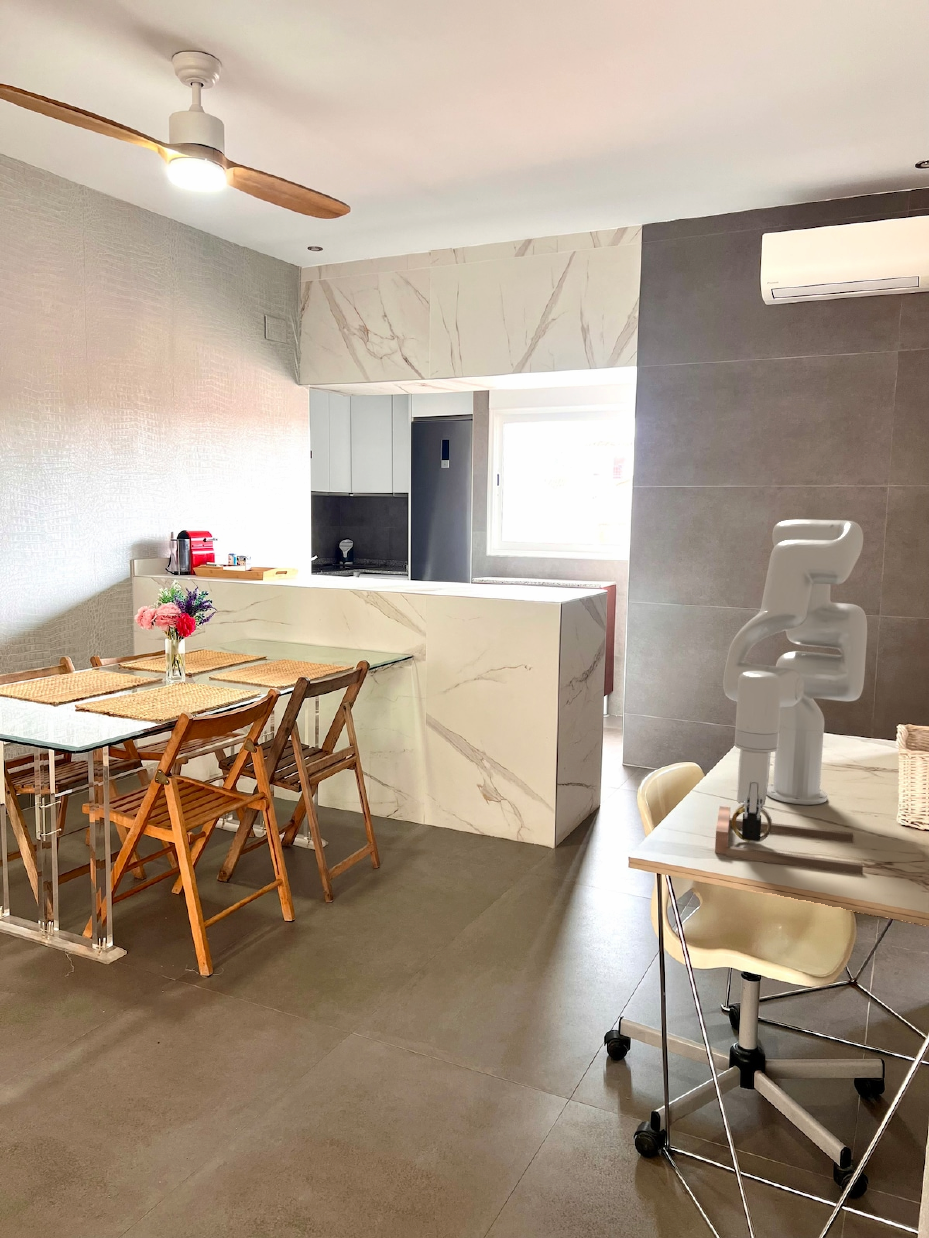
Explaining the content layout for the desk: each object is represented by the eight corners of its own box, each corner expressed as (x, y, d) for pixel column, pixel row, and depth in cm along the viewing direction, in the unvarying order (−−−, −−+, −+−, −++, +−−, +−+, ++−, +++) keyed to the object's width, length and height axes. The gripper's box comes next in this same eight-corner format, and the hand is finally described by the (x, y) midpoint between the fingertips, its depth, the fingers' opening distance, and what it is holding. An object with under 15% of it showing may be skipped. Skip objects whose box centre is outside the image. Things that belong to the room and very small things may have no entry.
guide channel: (718, 824, 173) (719, 804, 173) (852, 840, 166) (853, 819, 166) (714, 854, 157) (715, 832, 157) (862, 874, 150) (864, 851, 149)
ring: (771, 843, 163) (774, 801, 162) (769, 849, 160) (772, 806, 160) (732, 836, 166) (734, 795, 165) (729, 842, 163) (732, 800, 162)
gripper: (736, 728, 170) (730, 821, 172) (733, 747, 155) (728, 849, 157) (777, 732, 167) (771, 826, 169) (779, 751, 153) (772, 855, 155)
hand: (750, 836), depth 163 cm, fingers closed
